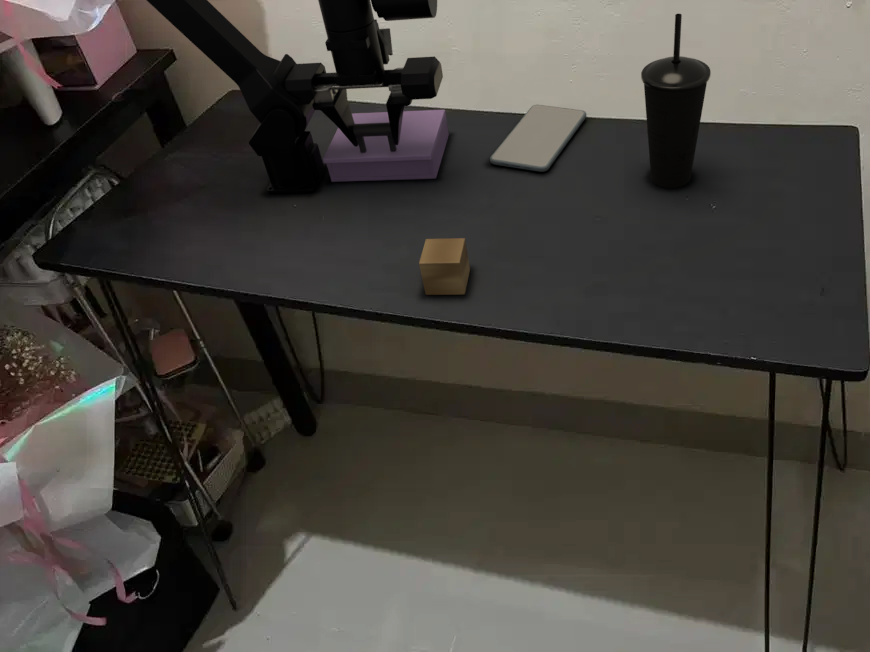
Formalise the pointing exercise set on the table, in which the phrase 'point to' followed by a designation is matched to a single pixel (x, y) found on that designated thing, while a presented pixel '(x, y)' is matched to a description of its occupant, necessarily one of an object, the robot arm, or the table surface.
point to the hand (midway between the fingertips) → (377, 144)
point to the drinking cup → (674, 113)
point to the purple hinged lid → (387, 138)
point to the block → (445, 266)
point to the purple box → (392, 166)
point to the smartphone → (538, 138)
